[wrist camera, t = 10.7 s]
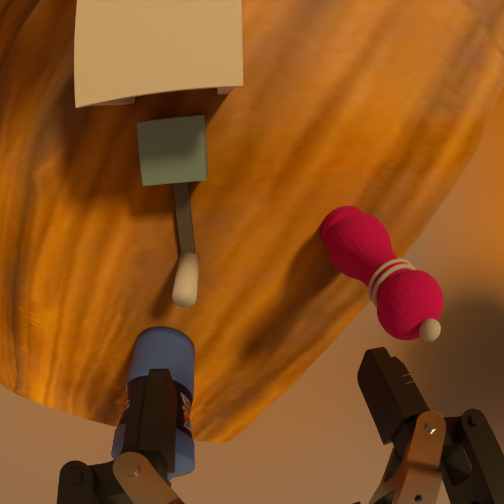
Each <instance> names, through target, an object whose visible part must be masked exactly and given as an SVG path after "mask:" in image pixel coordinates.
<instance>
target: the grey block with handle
mask: <svg viewBox="0 0 504 504" xmlns="http://www.w3.org/2000/svg"><path fill="white" fill-rule="evenodd" d="M136 125H137V137H138V148H139V158H140V167H141V176H142V184H143V186H150V185H159V184H170V183H173V191H174V200H175V209H176V218H177V226H178V234H179V241H180V249H181V255H180V258H179V263H178V268H177V273H176V278H175V283H174V288H173V294H172V299H173V301H174V303H175V304H176V305H178V306H180V307H190V306H192V305H193V304H194V303H195V302H196V298H197V284H198V271H199V259H200V258H199V255H198V253H197V252H195V244H194V235H193V225H192V216H191V205H190V194H189V183H188V182H192V181H205V180H207V173H208V162H207V144H206V123H205V114H204V115H191V116H181V117H171V118H163V119H155V120H147V121H143V122H138V123H136Z"/></svg>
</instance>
